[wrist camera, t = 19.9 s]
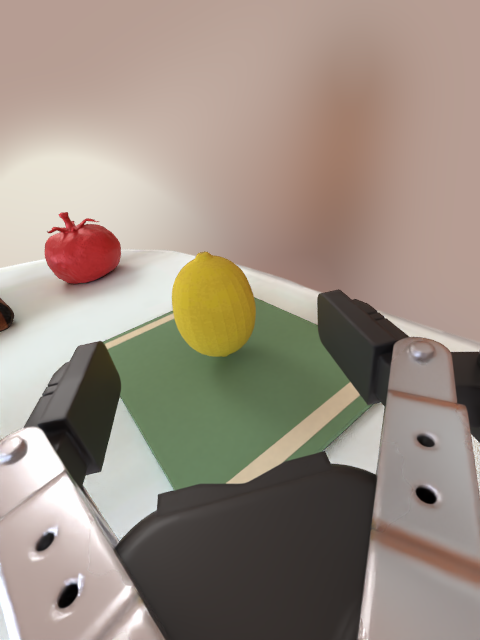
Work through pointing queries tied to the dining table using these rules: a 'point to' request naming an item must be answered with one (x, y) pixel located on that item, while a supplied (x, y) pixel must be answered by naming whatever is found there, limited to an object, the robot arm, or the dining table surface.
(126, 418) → the dining table surface
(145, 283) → the dining table surface
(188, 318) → the lemon
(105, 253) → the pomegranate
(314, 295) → the dining table surface
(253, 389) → the cloth
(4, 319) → the sunglasses case
